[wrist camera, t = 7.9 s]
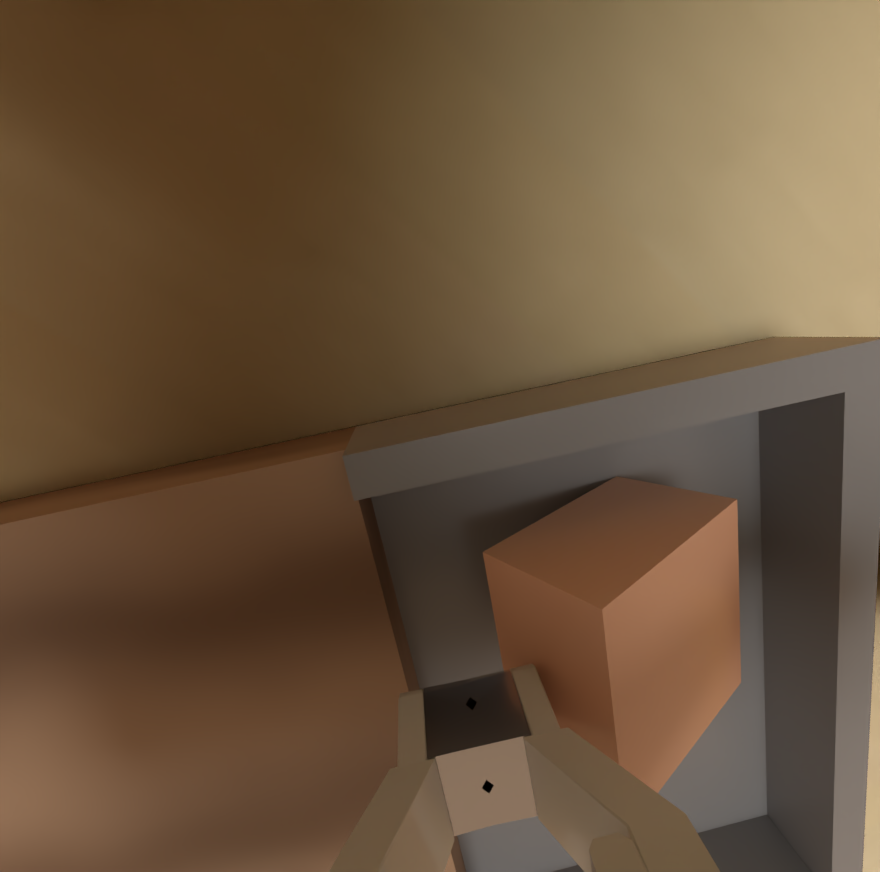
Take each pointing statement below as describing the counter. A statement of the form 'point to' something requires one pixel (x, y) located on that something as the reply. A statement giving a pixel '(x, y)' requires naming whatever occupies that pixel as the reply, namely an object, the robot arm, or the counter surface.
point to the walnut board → (197, 667)
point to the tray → (759, 550)
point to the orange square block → (626, 617)
